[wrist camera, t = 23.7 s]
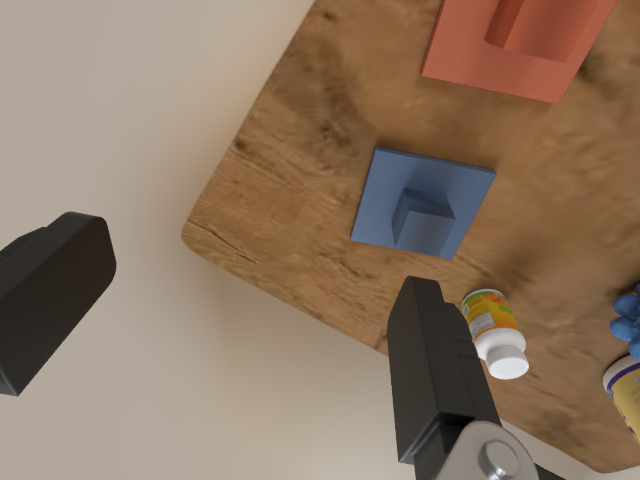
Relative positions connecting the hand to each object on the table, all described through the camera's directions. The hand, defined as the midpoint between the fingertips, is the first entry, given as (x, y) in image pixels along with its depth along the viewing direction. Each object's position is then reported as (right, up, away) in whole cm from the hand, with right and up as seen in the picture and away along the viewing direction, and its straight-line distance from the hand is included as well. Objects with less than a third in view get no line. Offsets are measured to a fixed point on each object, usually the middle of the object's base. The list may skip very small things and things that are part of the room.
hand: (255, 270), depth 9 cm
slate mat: (+12, +5, +28) cm, 31 cm away
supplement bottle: (+23, -7, +36) cm, 43 cm away
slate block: (+12, +4, +27) cm, 30 cm away
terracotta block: (+17, +18, +16) cm, 30 cm away
